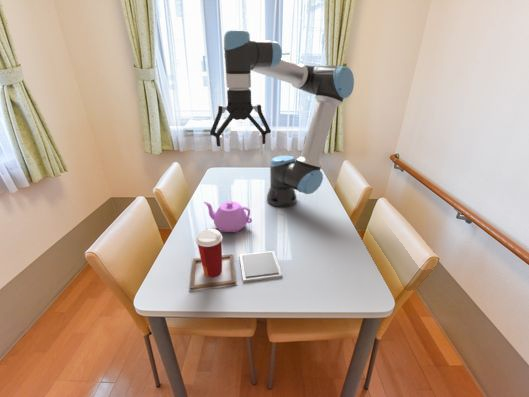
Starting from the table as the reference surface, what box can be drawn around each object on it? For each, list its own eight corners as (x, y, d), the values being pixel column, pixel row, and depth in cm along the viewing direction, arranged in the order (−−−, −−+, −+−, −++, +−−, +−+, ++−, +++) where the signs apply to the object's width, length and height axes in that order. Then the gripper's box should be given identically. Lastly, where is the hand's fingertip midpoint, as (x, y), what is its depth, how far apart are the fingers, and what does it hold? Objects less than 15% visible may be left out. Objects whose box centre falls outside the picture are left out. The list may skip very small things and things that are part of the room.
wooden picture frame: (233, 255, 98) (233, 253, 97) (237, 285, 84) (237, 282, 84) (192, 260, 95) (191, 257, 95) (189, 291, 82) (188, 289, 82)
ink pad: (274, 252, 99) (274, 249, 99) (282, 277, 88) (282, 274, 87) (239, 256, 97) (239, 253, 96) (243, 282, 86) (243, 279, 85)
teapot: (202, 235, 109) (198, 209, 103) (210, 217, 122) (208, 193, 116) (250, 237, 108) (249, 211, 102) (254, 219, 120) (253, 195, 115)
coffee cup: (229, 266, 92) (226, 230, 85) (217, 283, 85) (213, 245, 78) (208, 261, 95) (204, 225, 88) (195, 276, 88) (189, 239, 81)
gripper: (275, 87, 88) (274, 149, 98) (198, 88, 84) (205, 152, 94) (280, 89, 82) (278, 155, 91) (197, 90, 78) (205, 159, 87)
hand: (241, 154), depth 93 cm, fingers open, 13 cm apart
